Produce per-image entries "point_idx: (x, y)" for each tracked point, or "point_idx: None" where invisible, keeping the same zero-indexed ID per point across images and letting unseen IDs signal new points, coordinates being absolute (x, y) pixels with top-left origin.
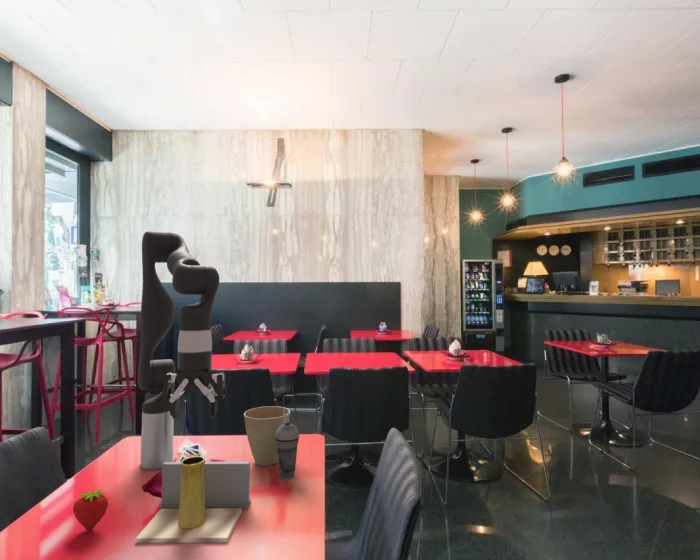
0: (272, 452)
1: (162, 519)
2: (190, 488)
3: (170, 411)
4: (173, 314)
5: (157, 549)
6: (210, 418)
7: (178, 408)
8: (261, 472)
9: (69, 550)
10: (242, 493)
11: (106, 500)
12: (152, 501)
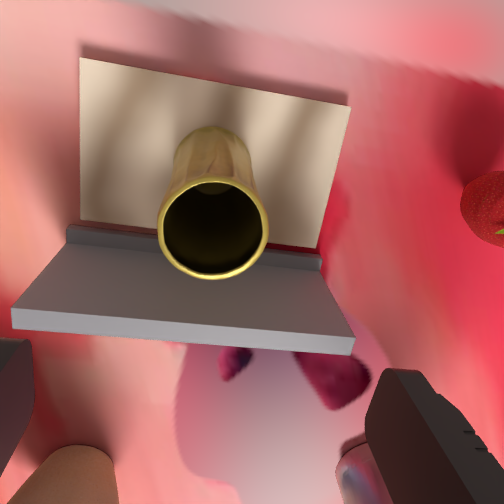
0: (38, 477)
1: (299, 193)
2: (210, 154)
3: (471, 431)
4: None
5: (282, 61)
6: (14, 340)
7: (399, 488)
8: (80, 414)
9: (501, 103)
10: (75, 257)
11: (479, 213)
12: (346, 301)
